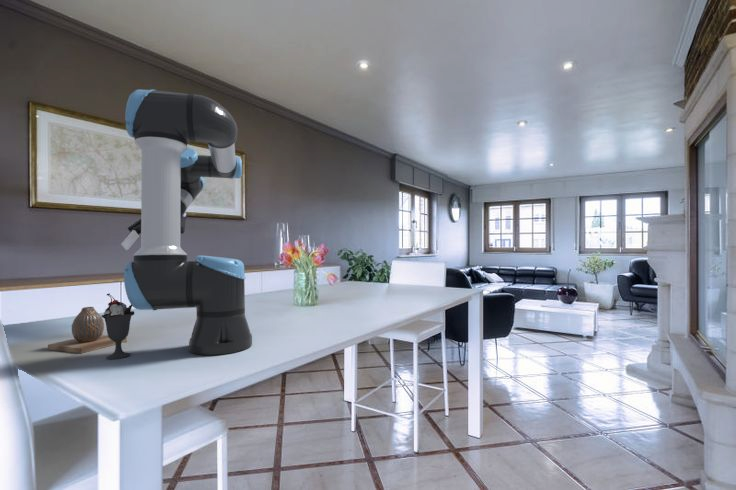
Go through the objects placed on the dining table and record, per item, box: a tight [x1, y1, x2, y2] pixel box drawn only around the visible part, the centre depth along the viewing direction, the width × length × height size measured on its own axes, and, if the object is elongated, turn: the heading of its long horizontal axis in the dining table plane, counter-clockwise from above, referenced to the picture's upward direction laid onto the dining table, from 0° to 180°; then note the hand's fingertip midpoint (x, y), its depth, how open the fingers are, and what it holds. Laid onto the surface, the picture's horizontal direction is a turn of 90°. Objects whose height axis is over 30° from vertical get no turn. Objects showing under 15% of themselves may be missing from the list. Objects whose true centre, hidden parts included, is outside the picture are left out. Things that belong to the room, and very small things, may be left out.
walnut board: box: [47, 334, 128, 354], centre depth 101 cm, size 12×12×1 cm
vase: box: [71, 306, 105, 342], centre depth 101 cm, size 7×7×9 cm
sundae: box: [100, 292, 135, 360], centre depth 91 cm, size 7×7×15 cm
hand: (142, 247), depth 119 cm, fingers open, 13 cm apart
